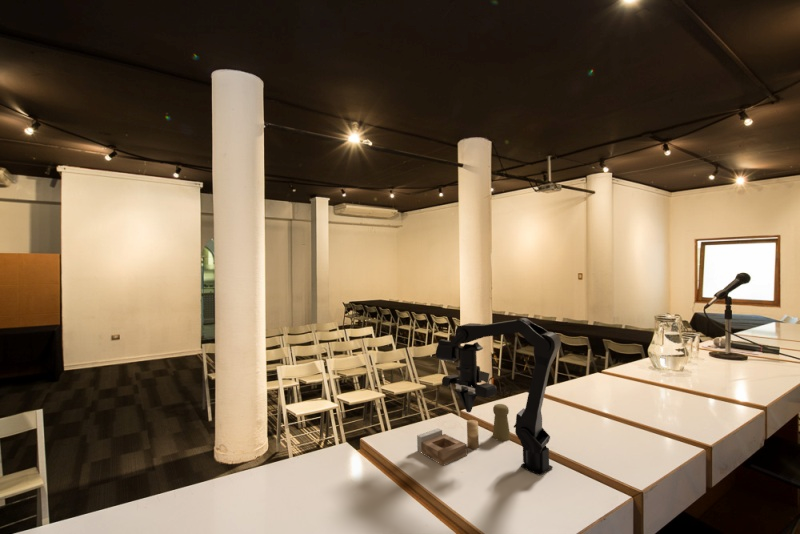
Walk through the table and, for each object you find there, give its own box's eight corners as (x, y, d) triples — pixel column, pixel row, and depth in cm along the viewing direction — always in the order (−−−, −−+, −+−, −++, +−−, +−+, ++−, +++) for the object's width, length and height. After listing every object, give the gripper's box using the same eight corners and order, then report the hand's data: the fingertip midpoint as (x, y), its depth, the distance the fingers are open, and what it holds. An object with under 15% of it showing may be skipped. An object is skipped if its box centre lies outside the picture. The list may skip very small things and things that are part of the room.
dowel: (481, 447, 127) (480, 422, 127) (473, 450, 125) (472, 425, 125) (472, 443, 130) (472, 419, 130) (465, 446, 128) (464, 421, 128)
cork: (506, 442, 130) (505, 409, 130) (489, 438, 134) (488, 405, 134) (513, 436, 135) (512, 404, 135) (496, 432, 139) (496, 401, 139)
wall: (442, 445, 129) (442, 430, 129) (421, 453, 124) (421, 437, 124) (438, 443, 131) (438, 428, 131) (417, 451, 125) (417, 435, 125)
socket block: (466, 455, 122) (466, 444, 122) (442, 465, 116) (442, 453, 116) (444, 444, 130) (444, 433, 130) (421, 453, 124) (421, 442, 124)
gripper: (507, 364, 124) (508, 413, 123) (462, 355, 138) (464, 399, 138) (484, 370, 117) (485, 422, 116) (440, 360, 131) (441, 406, 131)
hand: (468, 412), depth 126 cm, fingers closed
